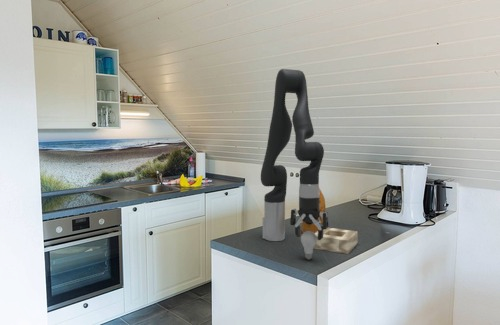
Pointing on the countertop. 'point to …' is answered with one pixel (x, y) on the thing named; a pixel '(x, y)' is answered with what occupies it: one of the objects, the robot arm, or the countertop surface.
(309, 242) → the lightbulb
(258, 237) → the countertop surface
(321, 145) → the robot arm
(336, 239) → the block
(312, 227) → the coffee package
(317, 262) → the countertop surface
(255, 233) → the countertop surface
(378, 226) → the countertop surface
